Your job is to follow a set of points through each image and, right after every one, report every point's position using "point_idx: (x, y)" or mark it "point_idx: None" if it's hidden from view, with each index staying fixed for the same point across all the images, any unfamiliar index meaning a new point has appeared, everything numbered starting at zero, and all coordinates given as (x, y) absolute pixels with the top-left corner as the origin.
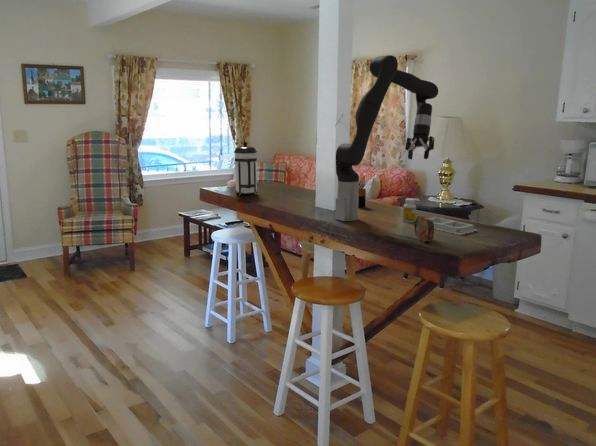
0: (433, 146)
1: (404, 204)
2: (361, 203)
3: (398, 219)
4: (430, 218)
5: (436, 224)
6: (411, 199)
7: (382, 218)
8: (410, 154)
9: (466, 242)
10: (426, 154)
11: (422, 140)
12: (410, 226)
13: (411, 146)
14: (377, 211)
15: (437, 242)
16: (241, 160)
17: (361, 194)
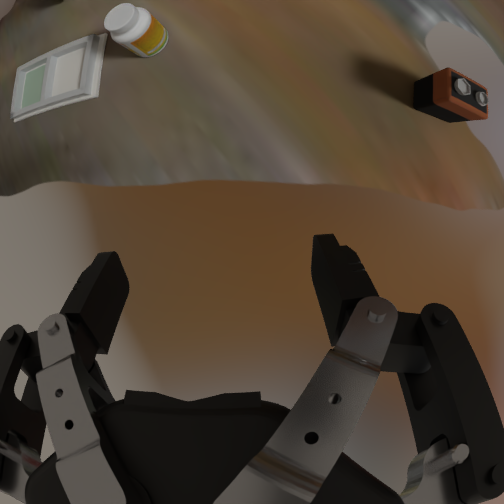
0: (27, 390)
1: (141, 9)
2: (419, 87)
3: (187, 30)
4: (86, 67)
5: (57, 49)
6: (113, 18)
7: (232, 4)
8: (327, 274)
9: (8, 51)
10: (80, 284)
11: (59, 459)
12: None
13: (347, 357)
14: (329, 67)
15: (35, 8)
16: None
17: (436, 79)
